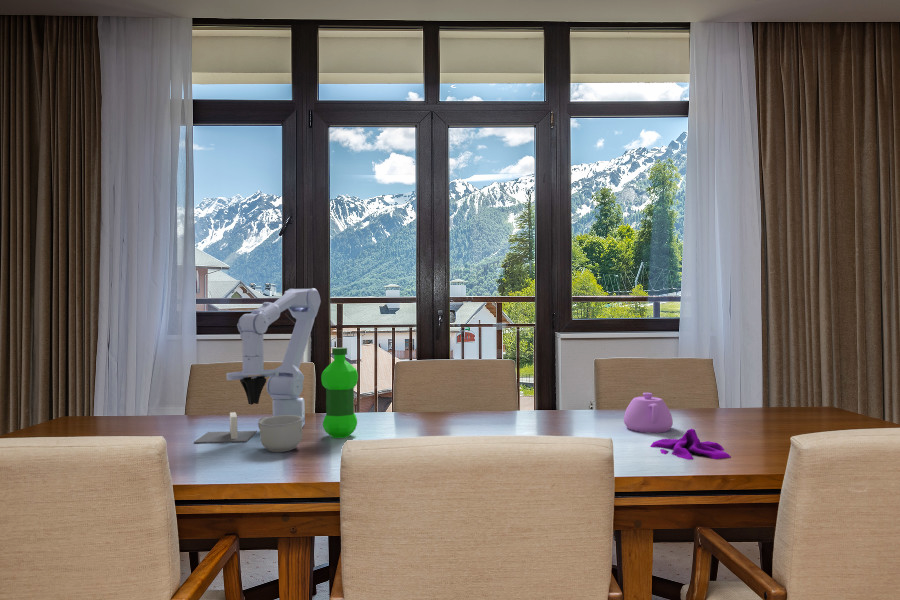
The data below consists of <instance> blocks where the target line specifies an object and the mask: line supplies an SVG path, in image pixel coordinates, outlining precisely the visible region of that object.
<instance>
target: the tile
mask: <svg viewBox="0 0 900 600" xmlns="http://www.w3.org/2000/svg"><path fill="white" fill-rule="evenodd" d="M237 415H238V414H237V413H236V412H235V411H233V412H229V432H230V436H231V439H237V431H238V416H237Z"/></svg>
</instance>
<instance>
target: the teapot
mask: <svg viewBox="0 0 900 600" xmlns="http://www.w3.org/2000/svg"><path fill="white" fill-rule="evenodd" d="M642 395H643V396H642ZM642 395H641V396H640V395H639V396H636V397H634V398H632V400H631V401H630V403H629V404H628V406H627V407H626V409H625V413H624V416H623V423H624V426H626V428H627V429H628V428H629V430H630V429H631V430H630V431H633V430H634V431H633V432H637V431H640V432H639V433H646V432H650V433H651V434H652V433H656V434H659V433H666V432H669V430H670V429H671V428H672V427H673V424H674V423H673V421H674V420H673V417H672V413H671V410H670V409H669V407H668V405H667V404H666V403H665V401H664V400H663V398H661V397H660V398H659V397H656V396H653V393H652V392H643V393H642Z"/></svg>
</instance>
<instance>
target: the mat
mask: <svg viewBox="0 0 900 600" xmlns="http://www.w3.org/2000/svg"><path fill="white" fill-rule="evenodd" d="M256 432H258V431H257V430H240V431H238V430H237V439H231V436H230V431H207V432H206V433H204V434H203V435H201V436H200V437H199V438H198V439H196V440H194V441H193V444H194V443H195V444H225V443H224V442H232V443H247V442H248V441H250V440H251V438H253V436H254V434H255V433H256ZM256 434H257V433H256ZM256 434H255V435H256Z"/></svg>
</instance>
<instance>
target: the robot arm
mask: <svg viewBox="0 0 900 600" xmlns="http://www.w3.org/2000/svg"><path fill="white" fill-rule="evenodd" d="M321 302H322V301H321V296H320V293H319V291H318V290H317V288H314V287H312V288H289V289H287V290H285V291H284V294H283V295H282V296H280V297H279V298H278V299H276V300H275V301H274V302H270V301H264V302H262V305H261V306H259V307H258V308H254V309H253V310H252V312H250V313H244V314H242V316H240V318H239V319H238V323H237V324H236V327H237V330H238V333H239V335H240V339H241V343H242V345H241V346H242V351H241V352H242V357H241V358H242V370H241V371H234V372H226V374H225V375H226V377H225V378H226V380H227V381H236V380H239V381H240V384H241V385H242V388H243V389H244V392H245V395H246V399H247V403H248V404H249V405H254V404H255V405H258V404H259V402H260V397H261V394H262V391H263V389H264V387H266V392H267V394H268V395H269V396H270V399H272V417H273V416H280V415H295V416H300V417H301V418H302V428H303V427H304V426H305V425H306V418H305V416H306V414H305V412H306V411H305V409H306V408H305V406H306V405H305V398H304V397H300V396H301V394H302V392H303V391H304V389H303V388H304V380H305V376H304V374H303V372H302V371H301V370H300V367H301V364H302V360H303V357H304V354H305V352H306V348H307V345H308V341H309V339H310V335H311V332H312V330H313V327H314V323H315V318H316V317H317V315H318V312H319V309H320V306H321ZM286 310H288V311H289V313H290V315H291V316H292V317H293V318H294V319H295V320H296V321H295V324H294V327H293V331H292V334H291V335H290V336H291V337H290V339H289V343H288V345H287V347H286V348H287V349H286V352H285V354H284V357H283V359H282V364H281V365H280V366H278V367H276V368H274V369H264V368H265V367H264V360H265V359H264V356H265V355H264V334H265V333H266V332H267V331H268V327H269V326H270V325H272V323H274V322H275V321H277V320H278V319H279V318H280V316H281V313H282V312H284V311H286ZM267 378H268V379H267Z"/></svg>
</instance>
